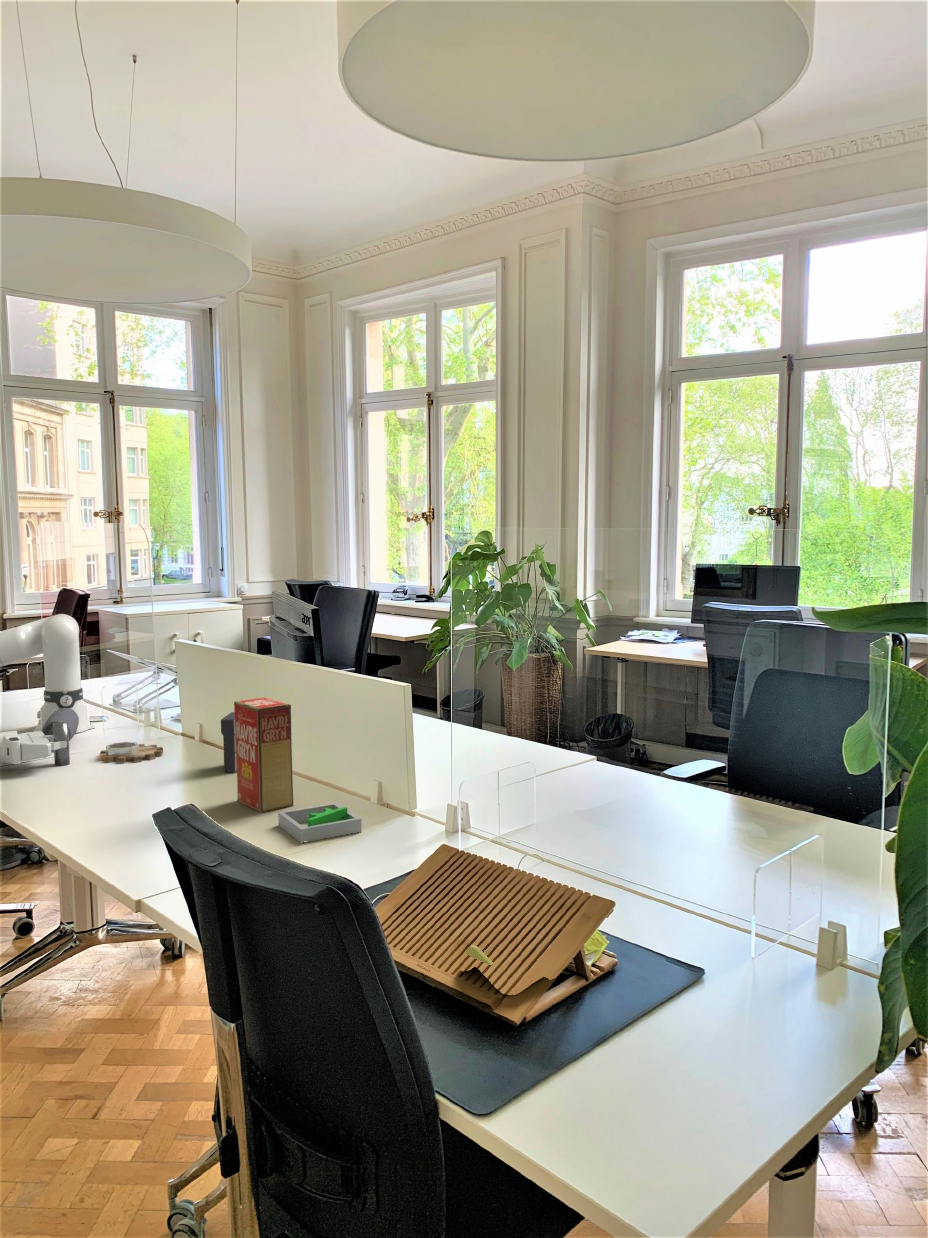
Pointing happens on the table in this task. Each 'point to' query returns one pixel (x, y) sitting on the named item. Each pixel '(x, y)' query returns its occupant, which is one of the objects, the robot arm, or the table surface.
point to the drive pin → (60, 735)
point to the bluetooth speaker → (62, 716)
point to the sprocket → (129, 752)
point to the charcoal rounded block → (229, 743)
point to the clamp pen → (316, 832)
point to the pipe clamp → (327, 816)
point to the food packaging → (264, 754)
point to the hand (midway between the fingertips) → (64, 741)
